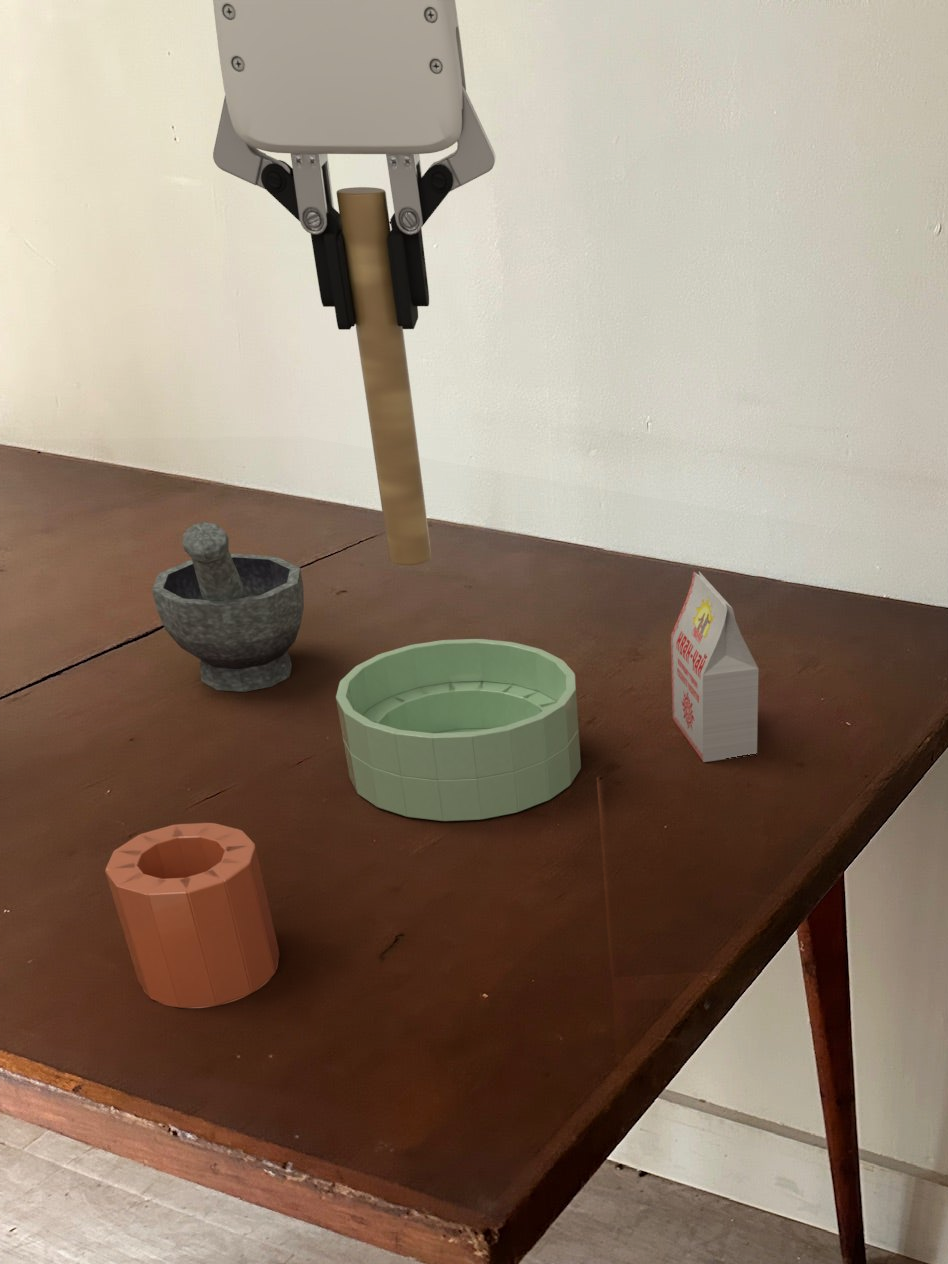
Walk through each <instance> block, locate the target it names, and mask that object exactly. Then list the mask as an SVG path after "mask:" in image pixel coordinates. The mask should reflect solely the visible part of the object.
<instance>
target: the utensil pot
mask: <svg viewBox="0 0 948 1264" xmlns="http://www.w3.org/2000/svg"><path fill="white" fill-rule="evenodd" d="M104 871H105V875H106V879H107V882H108V885H109V889H110V892H111V895H112V898H113V902H114V905H115V908H116V909H115V910H116V912H117V916H118V919H119V922H120V925H121V928H122V933H123V935H124V938H125V942H126V945H127V948H128V952H129V955H130V959H131V962H132V965H133V969H134V972H135V974H136V975H135V976H136V978H137V982H138V983H139V985H140V986H141V988H142V989H143V992H144V993H145V994H146V995H147V996H148V998H149V999H150V1000H152V1001H155V1002H157V1003H159V1004H162V1005H164V1006H169V1007H173V1008H174V1007H175V1008H178V1009H179V1008H181V1009H203V1008H210V1007H211V1008H213V1007H216V1006H221V1005H225V1004H226V1005H227V1004H230V1003H232V1002H236V1001H238V1000H241V999H243V998H246V997H247V996H249V995H252V994H253V993H255V992H256V991H258V990H260V989H261V988H262V987H263V986H265V985H266V984H267V983H268V982H269V981H270V980H271V979H272V978H273V976H274V975H275V974H276V971H277V969H278V966H279V959H280V955H281V953H280V950H279V945H278V940H277V935H276V931H275V927H274V922H273V919H272V913H271V910H270V904H269V901H268V895H267V892H266V887H265V883H264V878H263V874H262V869H261V865H260V860H259V855H258V851H257V847H256V844H255V843H254V841H252V840H251V839H250V838H249V836H248V835H247V834H246V833H245V832H244V831H243V830H241V829H240V828H235V827H231V826H228V825H223V824H219V823H216V822H197V823H176V824H171V825H167V826H164V827H161V828H157V829H154V830H150V831H147V832H143V833H140V834H138V835H136V836H134V837H133V838H131V839H130V840H128V841H127V842H125V843H123V844H122V845H120V846H119V847H117V848H116V849H114V850H113V852H112V854H111V856H110V858H109V861H108V862H107V864H106V867H105V869H104Z"/></svg>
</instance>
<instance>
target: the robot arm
mask: <svg viewBox="0 0 948 1264" xmlns="http://www.w3.org/2000/svg"><path fill="white" fill-rule="evenodd" d="M212 3H213V5H212V6H213V12H214V13H213V14H214V21H215V31H216V40H217V47H218V56H219V64H220V70H221V77H222V85H223V91H224V99H223V104H222V107H221V113H220V118H219V122H218V128H217V133H216V137H215V142H214V147H213V151H212V158H213V162H214V164H215V165H216V166H217V168H218V169H220V170H221V171H223V172H225V173H227V174H230V175H232V176H234V177H236V178H238V179H241V180H243V181H244V182H246V183H249V184H251V185H253V186H257V187H259V188H261V189H264V190H266V192H267V193H269V194H270V195H271V196H272V197H273V198H274V199H275V200H276V201H277V202H278V203H279V204H280V205H282V207H284V209H286V211H287V212H289V213H290V214H291V215H292V216H293V217H294V218H295V219H296V220H297V221H299V222H300V225H301V227H302V229H304V231H306V233H309V235H310V238H311V244H312V245H311V246H312V251H313V252H312V253H313V257H314V264H315V265H314V266H315V271H316V278H317V284H318V290H319V296H320V301H321V305H322V307H324V308H330V307H331V308H334V312H335V313H334V314H335V319H336V320H335V321H336V326H337V328H338V330H342V331H343V330H346V331H347V330H349V331H350V330H351V329H352V328H353V327H356V325H355V324H356V321H355V314H354V307H353V300H352V293H351V286H350V279H349V272H348V265H347V258H346V251H345V244H344V238H343V234H342V228H341V221H340V214H339V211H337V209H335V205H334V197H333V188H332V180H331V174H330V173H331V172H330V166H329V156H328V155H385V156H386V164H387V171H388V179H389V185H390V191H391V197H392V205H393V211H394V212H393V214H392V216H391V217H390V218H389V222H390V230H391V233H390V234H389V235H388V237H387V245H388V253H389V261H390V269H391V277H392V284H393V292H394V300H395V308H396V315H397V323H398V326H402V328H403V330H414V329H415V327H416V324H417V322H418V319H419V308H418V307H429V306H430V291H429V281H428V273H427V264H426V256H425V248H424V240H423V239H424V237H423V231H422V228H423V226H424V225H425V224H426V222H427V221H428V220H429V219H430V218H431V216H432V215H433V213H435V211H436V210H437V208H439V206H440V205H441V204H442V202H443V201H444V199H446V197H447V196H448V194H449V193H450V192H453V191H454V190H455V189H456V190H457V189H458V188H460V187H463V186H464V185H466V184H468V183H470V182H472V181H474V180H475V179H478V178H479V177H481V176H483V175H485V174H487V173H489V172H490V171H492V169H493V168H494V166H495V163H496V153H495V150H494V147H493V146H492V144H491V142H490V139H489V137H488V135H487V133H486V131H485V129H484V127H483V124H482V122H481V119H480V118H479V116H478V113H477V111H476V109H475V107H474V104H473V103H472V101H471V99H470V97H469V95H468V92H467V86H466V85H467V84H466V75H465V66H464V65H465V64H464V57H463V49H462V41H461V40H462V39H461V33H460V26H459V19H458V11H457V4H456V0H212ZM456 143H457V145H456V146H457V147H456V150H455V151H454V152H452V153H449V154H448V155H447V156H445V157H443V158H441V159H439V160H437V161H434V162H433V163H431V165H430V166H429V168H428V169H426V171H425V172H424V174H423V172H422V171H423V170H422V165H421V164H422V163H421V157H420V155H425V154H434V153H439V152H442V151H445V150H447V149H448V148H450V147H453V145H455V144H456ZM263 151H264V152H263ZM265 152H267V153H268V152H269V153H276V154H290V161H291V165H290V164H288V163H287V162H286V161H285V160H282V159H276V158H274V157H272V156H270V155H268V154H267V153H265ZM291 166H292V167H291Z"/></svg>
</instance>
